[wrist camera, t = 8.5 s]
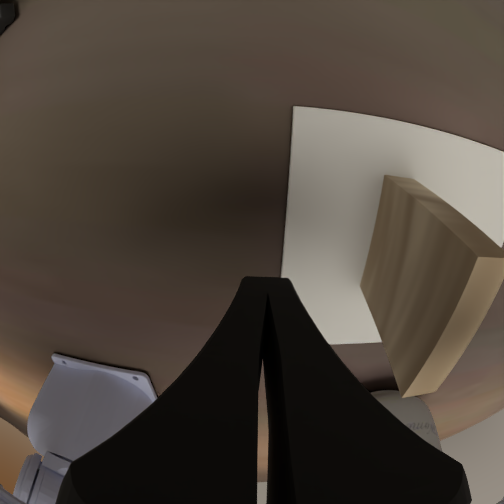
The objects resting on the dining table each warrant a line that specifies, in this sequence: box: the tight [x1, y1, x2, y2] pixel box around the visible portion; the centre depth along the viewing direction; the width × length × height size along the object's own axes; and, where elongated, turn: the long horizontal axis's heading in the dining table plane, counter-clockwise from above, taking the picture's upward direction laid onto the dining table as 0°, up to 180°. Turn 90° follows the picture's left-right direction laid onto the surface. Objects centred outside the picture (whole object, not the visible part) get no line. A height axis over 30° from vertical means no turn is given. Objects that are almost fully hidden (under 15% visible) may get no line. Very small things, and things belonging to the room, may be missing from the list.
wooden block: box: [360, 175, 504, 398], centre depth 10 cm, size 2×6×7 cm, turn 178°
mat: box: [281, 106, 504, 344], centre depth 14 cm, size 14×13×1 cm
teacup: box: [371, 390, 442, 451], centre depth 18 cm, size 14×11×8 cm
